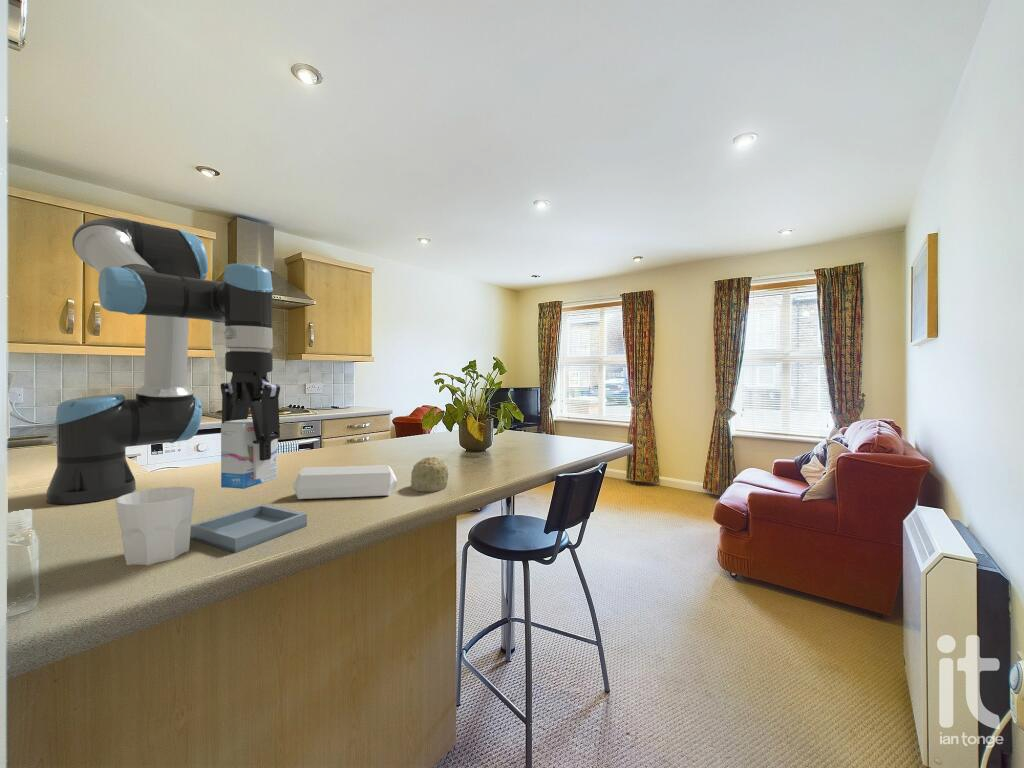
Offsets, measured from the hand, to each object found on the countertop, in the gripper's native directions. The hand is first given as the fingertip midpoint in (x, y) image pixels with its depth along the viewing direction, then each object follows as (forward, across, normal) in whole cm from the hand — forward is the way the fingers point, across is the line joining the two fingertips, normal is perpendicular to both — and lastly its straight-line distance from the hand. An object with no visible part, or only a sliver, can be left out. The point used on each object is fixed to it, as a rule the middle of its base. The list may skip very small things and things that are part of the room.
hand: (250, 475), depth 82 cm
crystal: (+11, -3, +26) cm, 29 cm away
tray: (+11, 0, 0) cm, 11 cm away
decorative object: (+11, +11, +41) cm, 44 cm away
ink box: (+2, 0, 0) cm, 2 cm away
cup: (+11, -4, -13) cm, 18 cm away
